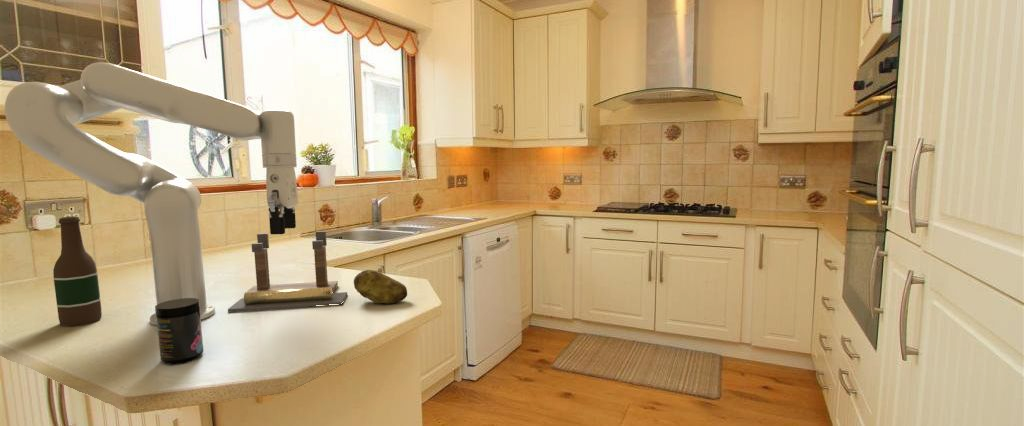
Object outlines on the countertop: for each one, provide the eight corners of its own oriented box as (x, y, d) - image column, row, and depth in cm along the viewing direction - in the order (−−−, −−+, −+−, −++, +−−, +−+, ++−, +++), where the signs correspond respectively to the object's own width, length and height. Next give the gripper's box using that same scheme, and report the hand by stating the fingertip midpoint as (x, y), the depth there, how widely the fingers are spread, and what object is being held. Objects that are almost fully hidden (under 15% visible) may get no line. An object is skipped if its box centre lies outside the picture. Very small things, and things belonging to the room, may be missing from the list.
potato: (390, 310, 118) (388, 277, 117) (349, 303, 124) (347, 272, 123) (411, 300, 126) (410, 269, 125) (372, 295, 131) (370, 265, 130)
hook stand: (333, 292, 134) (330, 234, 132) (245, 298, 130) (240, 237, 128) (337, 286, 140) (334, 230, 139) (254, 291, 137) (249, 233, 135)
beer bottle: (109, 319, 114) (98, 216, 112) (66, 329, 108) (53, 220, 105) (95, 313, 118) (83, 214, 116) (52, 323, 112) (39, 218, 109)
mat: (342, 305, 123) (341, 301, 122) (228, 312, 118) (227, 309, 118) (347, 295, 131) (347, 292, 131) (241, 301, 127) (241, 298, 127)
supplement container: (190, 365, 88) (185, 308, 87) (151, 366, 88) (145, 309, 87) (211, 350, 95) (206, 297, 94) (175, 351, 95) (170, 298, 93)
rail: (331, 301, 125) (329, 295, 123) (246, 306, 122) (242, 300, 119) (332, 291, 127) (330, 284, 125) (248, 296, 124) (245, 289, 121)
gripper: (286, 161, 113) (290, 236, 115) (304, 161, 130) (307, 225, 132) (250, 162, 112) (255, 237, 114) (274, 161, 129) (277, 226, 131)
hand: (283, 231), depth 123 cm, fingers open, 9 cm apart
